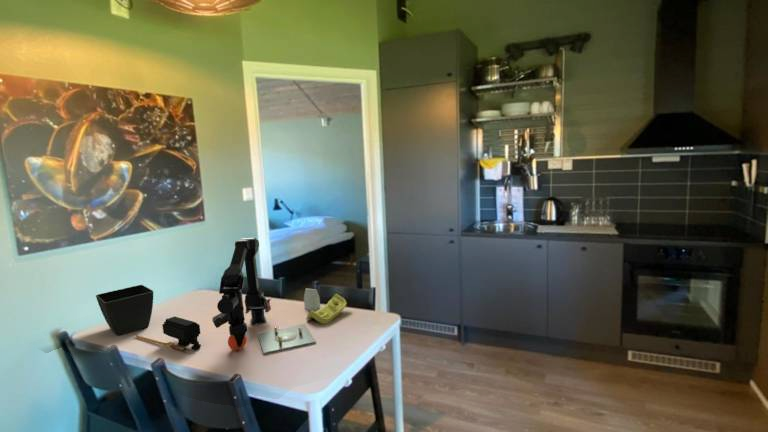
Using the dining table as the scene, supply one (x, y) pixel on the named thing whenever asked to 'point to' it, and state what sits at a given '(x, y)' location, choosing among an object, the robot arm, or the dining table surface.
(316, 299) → the tea bag
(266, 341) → the nest plate
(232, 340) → the clementine
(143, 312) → the flower pot
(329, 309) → the plastic component
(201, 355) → the dining table surface
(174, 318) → the security camera
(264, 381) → the dining table surface
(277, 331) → the brass pins
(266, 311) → the pliers
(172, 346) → the katana
